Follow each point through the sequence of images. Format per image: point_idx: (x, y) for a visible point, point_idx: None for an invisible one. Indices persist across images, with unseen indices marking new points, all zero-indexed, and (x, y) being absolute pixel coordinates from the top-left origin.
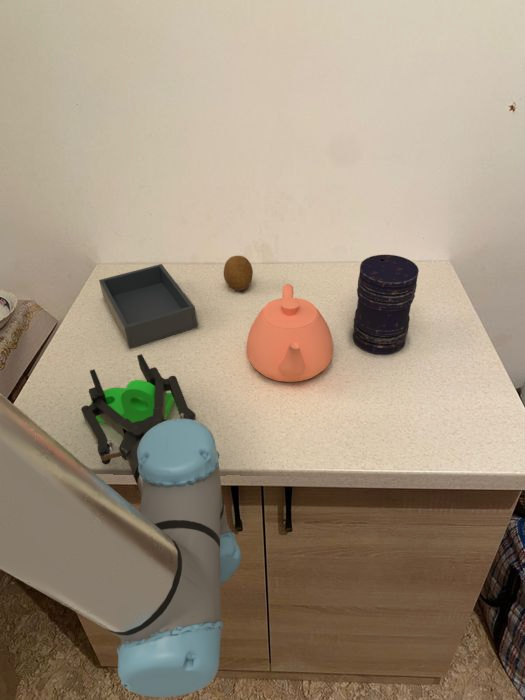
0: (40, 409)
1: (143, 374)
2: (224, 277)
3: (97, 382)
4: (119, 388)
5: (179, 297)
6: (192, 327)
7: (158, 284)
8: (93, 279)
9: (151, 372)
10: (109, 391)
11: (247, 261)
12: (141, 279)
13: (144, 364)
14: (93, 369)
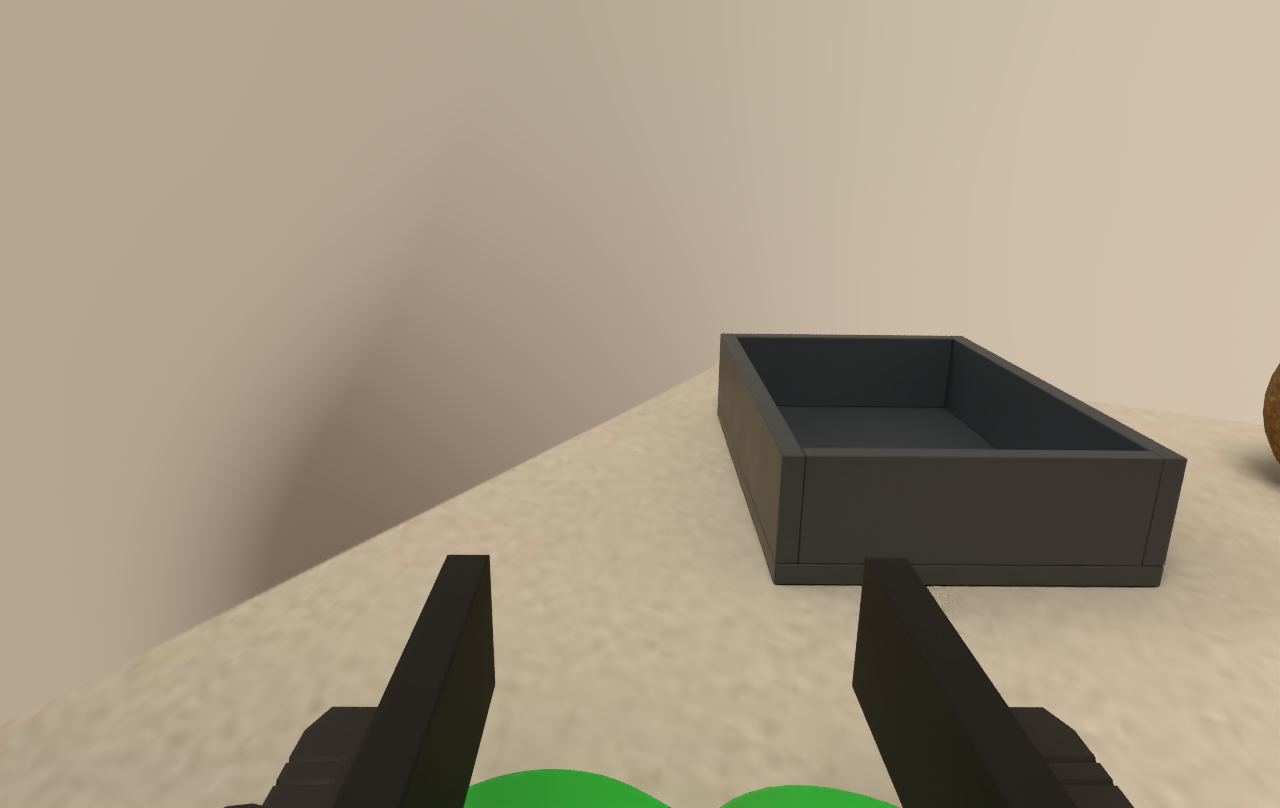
0: (138, 751)
1: (882, 748)
2: (1273, 413)
3: (427, 665)
4: (642, 798)
5: (1058, 430)
6: (1133, 576)
7: (930, 410)
8: (702, 373)
9: (1040, 755)
10: (561, 795)
11: None
12: (872, 373)
13: (940, 643)
14: (480, 555)
